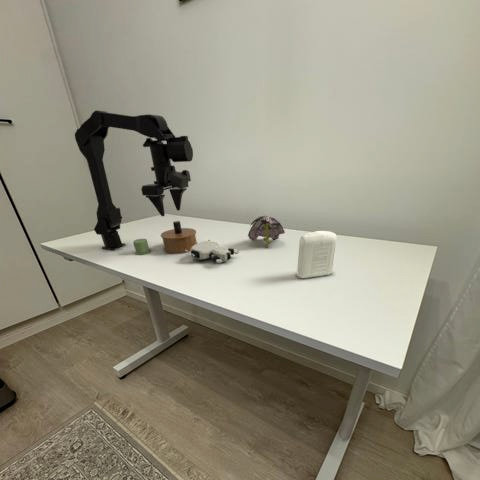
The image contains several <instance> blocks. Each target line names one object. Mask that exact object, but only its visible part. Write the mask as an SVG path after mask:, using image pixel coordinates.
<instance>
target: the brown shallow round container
mask: <svg viewBox="0 0 480 480" xmlns="http://www.w3.org/2000/svg"><path fill="white" fill-rule="evenodd" d="M162 243H163V248H164V251H165V252H166V253H168V254H173V255H176V254H177V255H178V254H185V253H187V252H186V251H185V250H187V251H189V252H190V253H191V251H190V249H191V248H192V246H194V245H195V244H197V243H198V242H197V235H196V234H195V235H193V236H191V237H188V238H183V239H174V240H170V239H164V238H162Z"/></svg>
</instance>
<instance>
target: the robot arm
mask: <svg viewBox="0 0 480 480" xmlns="http://www.w3.org/2000/svg"><path fill="white" fill-rule="evenodd" d="M110 128H113V129H122V130H127V131H133V132H136V133H138V134H140V135H142V136H144V137H146V139H145V141H144V142H143V143H142V147H143V148H149V151H150V156H151V160H152V161H151V162H152V167H150V170H151V172H154V176H155V177H154V178H155V180H154V181H153V183H149V184H145V185H144V184H143V185H142V186H141V194H142V195H141V196H145V198H146V199H148V200H149V201H150V202H151V203H152V205H153V206H154V208H155V209H156V210H157V212H158V213H159V215H160V217H165V216H166V215H165V214H166V213H165V206H164V198H165V197H166V194H164V192H165V191H166V190H168V192H169V193H170V196H171V199H172V201H173V204H174V207H175V209H176V211H181V205H182V197H183V194H184V193H185V191H187V189H188V188H189V183H190V182H191V181H192V179H191V174H190V171H189V170H187V169H184V170H183V169H182V171H177V170H176V166H175V165H172V162H173V163H188V162H192V161H193V158H194V149H193V147H192V144H191V142H190V140H189V136H188V135H181V136H176V135H175V133H173V131H172V130H171V129H170V128H169V126H168V123H167V120H166V119H165V117H164V116H162V115H159V114H158V115H157V114H139V115H136V116H135V115H127V114H119V113H113V112H108V111H105V110H94V111H93V112H92V113H91V115H90V116H89V117H88V118H87V119H86V120H85V121H84V122H82V123H81V125H80V126H79V128H77V129H76V130H75V132H74V139H75V142H76V144H77V147H78V150H79V151H80V153H81V155H83V158H85V159H86V162H87V165H88V169H89V173H90V174H89V175H90V177H91V182H92V185H93V189H94V192H95V196H96V200H97V204H98V205H97V209H96V220H97V221H96V224H95V226H94V228H93V230H94V232H95V234H96V235H98V236H101V239H102V242H103V246H102V247H101V249H103V250H112V251H113V250H116V249H119V248H120V247H123V246H125V243H123V242H122V239H121V235H120V234H119V231H118V230H120V229H121V223H122V220H123V217H122V213H121V208H120V207H116V206H115V204H114V202H113V199H112V195H111V190H110V186H109V181H108V178H107V173H106V168H105V165H104V155H105V140H106V139H107V136H108V134H109V129H110ZM154 139H155V140H154ZM164 142H166V143H164Z"/></svg>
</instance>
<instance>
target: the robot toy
mask: <svg viewBox="0 0 480 480" xmlns="http://www.w3.org/2000/svg"><path fill="white" fill-rule="evenodd" d="M185 251H186V253H188V254H189V255H190V256H191V257H192V258H195V259H197V260H199V261H202V260H208V259H212V261H213V262H214V264H221V263H223V262H227V261H228V260H231V258H232V256H234V255H238V254H239V250H237V249H236V250H235V249H234V248H227V247H223V246H220V243H218V242H215V241H211V240H210V239H208V240H204V241H200V242H197V244H195V245H194V246H192V248H191V249H190V252H189V251H187V250H185Z"/></svg>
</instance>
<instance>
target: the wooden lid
mask: <svg viewBox="0 0 480 480" xmlns="http://www.w3.org/2000/svg"><path fill="white" fill-rule="evenodd" d="M172 224H173V228H171V229H167V230H165V231H163V232H161V234H160V238H161V239H163V238H164V239H170V240H174V239H183V238H188V237H191V236H193V235H196V234H197V230H196V229H194V228H191V227H190V228H189V227H182V225H181V221H180V220H175V221H173V222H172Z"/></svg>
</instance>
